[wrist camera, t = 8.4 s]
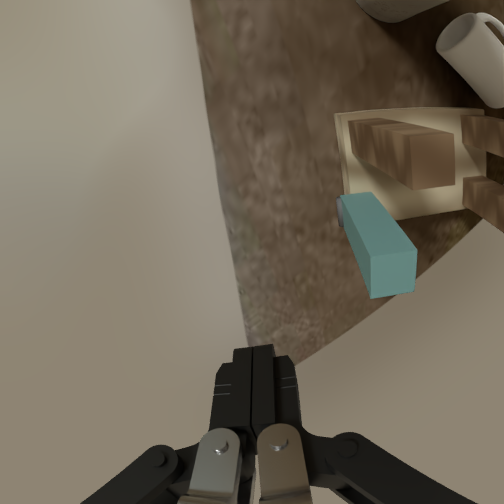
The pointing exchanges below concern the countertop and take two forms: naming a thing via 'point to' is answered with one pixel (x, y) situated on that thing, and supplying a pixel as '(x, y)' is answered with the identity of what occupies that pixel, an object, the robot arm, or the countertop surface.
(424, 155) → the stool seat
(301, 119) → the countertop surface
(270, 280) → the countertop surface
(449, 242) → the countertop surface
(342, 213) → the folding leg
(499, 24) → the mug
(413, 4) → the thermos bottle
